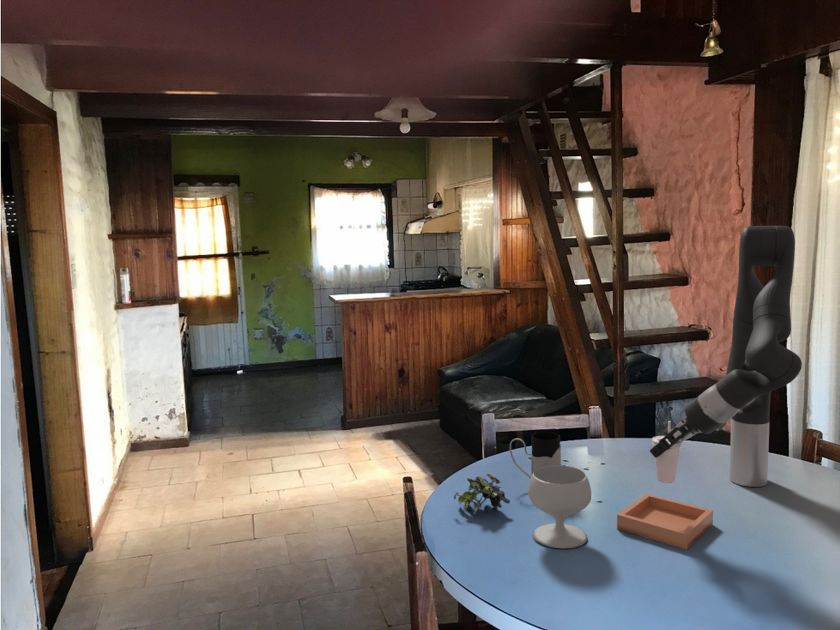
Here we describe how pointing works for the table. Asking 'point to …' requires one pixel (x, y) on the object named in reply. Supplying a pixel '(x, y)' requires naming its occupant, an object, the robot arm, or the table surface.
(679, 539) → the dish
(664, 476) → the smoothie
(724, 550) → the table surface
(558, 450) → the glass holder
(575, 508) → the chalice
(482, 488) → the leafy green plant
